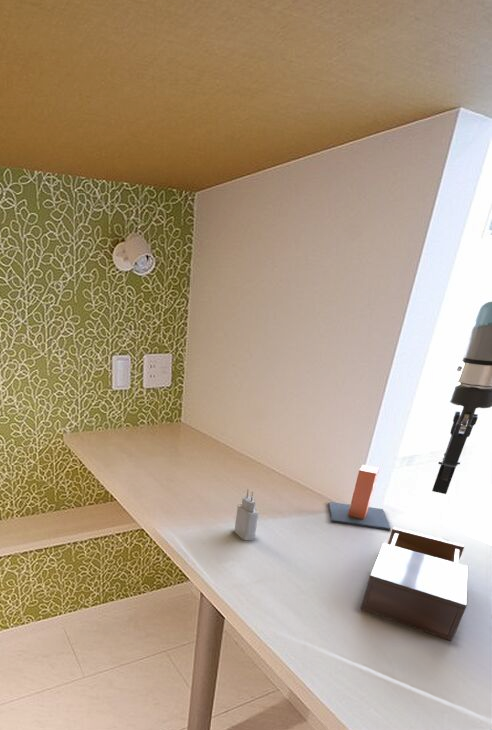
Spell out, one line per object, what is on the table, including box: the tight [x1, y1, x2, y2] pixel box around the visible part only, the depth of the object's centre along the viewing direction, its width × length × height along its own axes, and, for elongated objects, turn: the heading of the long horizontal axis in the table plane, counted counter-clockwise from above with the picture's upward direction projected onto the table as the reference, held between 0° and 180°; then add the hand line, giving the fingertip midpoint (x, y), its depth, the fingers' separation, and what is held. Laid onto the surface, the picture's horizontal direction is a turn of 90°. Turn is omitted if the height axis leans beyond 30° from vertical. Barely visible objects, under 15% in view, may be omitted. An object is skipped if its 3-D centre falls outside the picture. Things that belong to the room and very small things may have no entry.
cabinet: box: [360, 542, 469, 642], centre depth 82 cm, size 15×15×8 cm
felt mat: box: [328, 501, 392, 531], centre depth 117 cm, size 14×12×1 cm
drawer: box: [387, 526, 465, 564], centre depth 92 cm, size 18×13×6 cm
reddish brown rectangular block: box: [348, 464, 380, 519], centre depth 114 cm, size 5×4×13 cm
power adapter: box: [234, 488, 259, 541], centre depth 105 cm, size 3×5×12 cm, turn 20°
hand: (439, 491), depth 98 cm, fingers closed
